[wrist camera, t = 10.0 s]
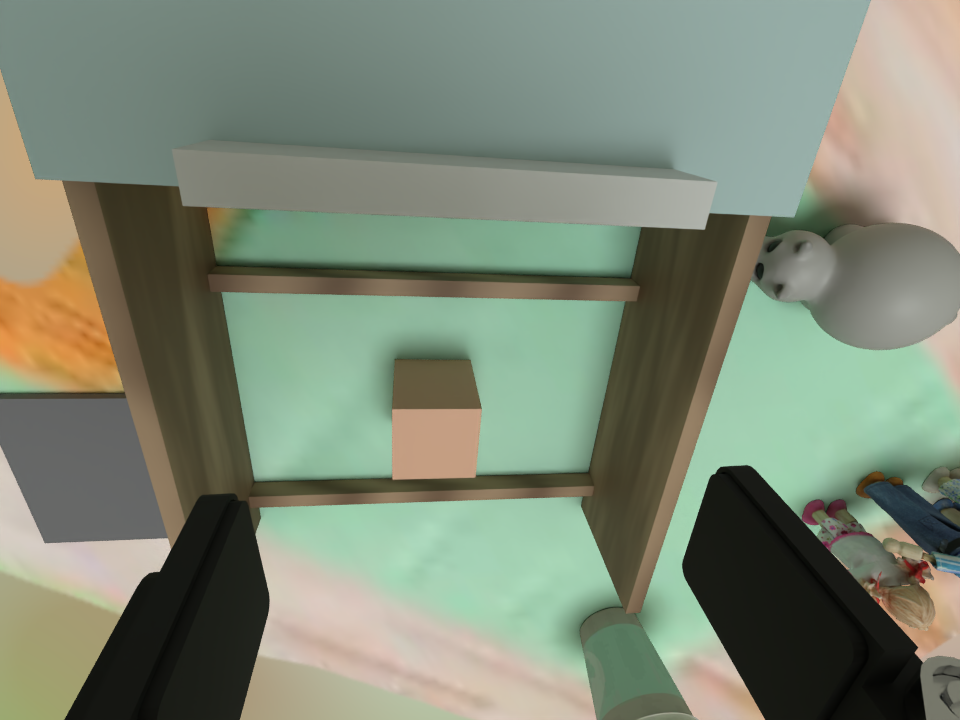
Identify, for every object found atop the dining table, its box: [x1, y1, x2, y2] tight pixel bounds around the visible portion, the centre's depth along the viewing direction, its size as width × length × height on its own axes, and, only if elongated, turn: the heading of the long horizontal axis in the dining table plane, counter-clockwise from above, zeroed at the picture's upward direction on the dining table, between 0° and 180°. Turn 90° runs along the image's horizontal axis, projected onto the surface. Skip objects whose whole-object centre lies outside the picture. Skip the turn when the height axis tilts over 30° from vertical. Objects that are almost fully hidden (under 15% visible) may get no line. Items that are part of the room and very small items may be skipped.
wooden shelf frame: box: [62, 180, 772, 614], centre depth 26 cm, size 27×42×10 cm, turn 176°
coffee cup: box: [580, 608, 698, 720], centre depth 44 cm, size 8×8×12 cm
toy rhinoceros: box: [751, 223, 960, 350], centre depth 30 cm, size 7×12×8 cm, turn 77°
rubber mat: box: [0, 393, 168, 543], centre depth 34 cm, size 12×12×1 cm
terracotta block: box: [392, 359, 482, 480], centre depth 32 cm, size 5×5×6 cm
